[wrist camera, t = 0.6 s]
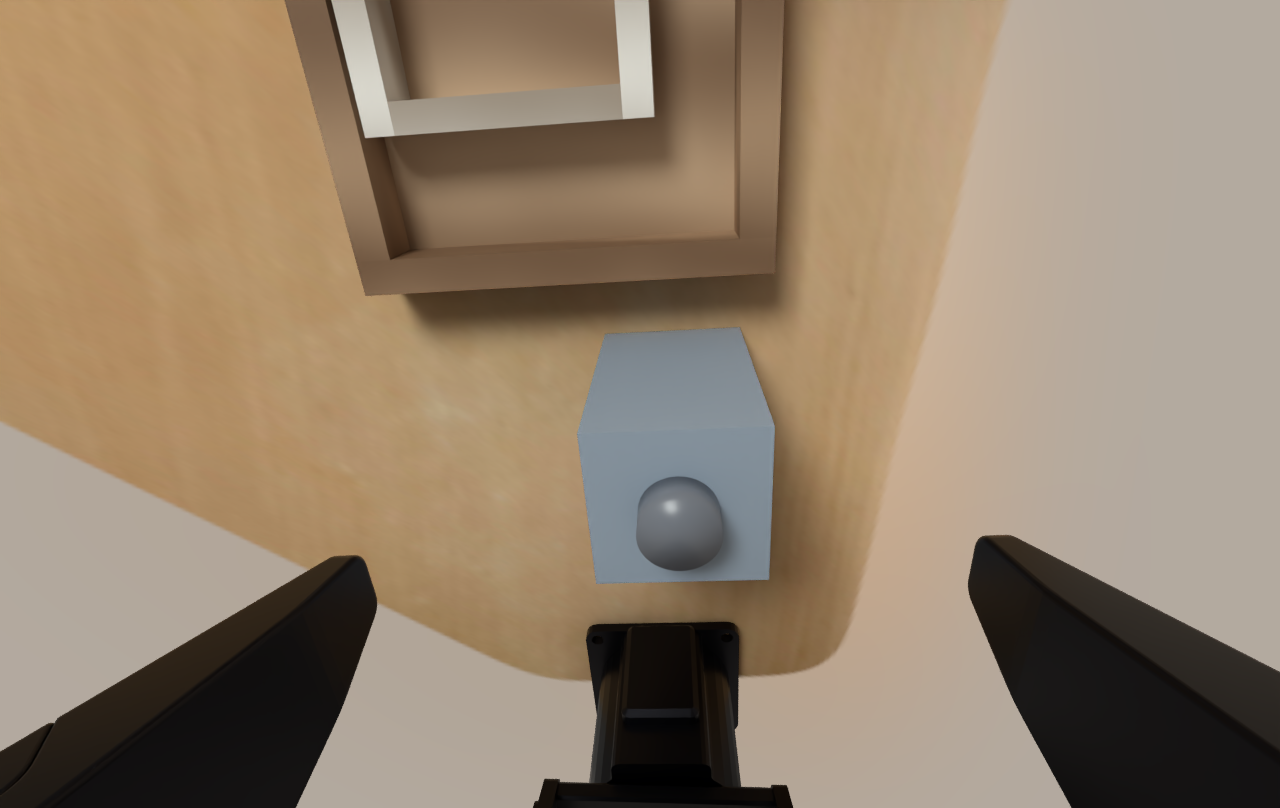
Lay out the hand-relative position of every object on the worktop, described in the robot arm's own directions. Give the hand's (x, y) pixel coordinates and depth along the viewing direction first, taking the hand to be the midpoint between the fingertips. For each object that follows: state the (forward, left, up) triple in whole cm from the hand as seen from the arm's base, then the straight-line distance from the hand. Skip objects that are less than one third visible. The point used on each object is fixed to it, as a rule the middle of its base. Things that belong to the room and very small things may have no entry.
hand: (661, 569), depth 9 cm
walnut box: (+8, +3, -12) cm, 15 cm away
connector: (-3, 0, -12) cm, 12 cm away
